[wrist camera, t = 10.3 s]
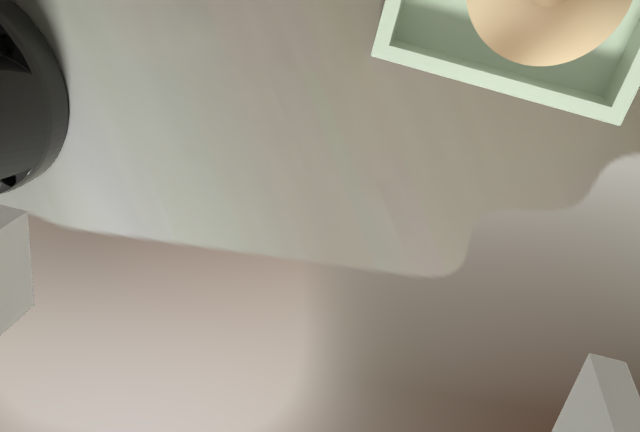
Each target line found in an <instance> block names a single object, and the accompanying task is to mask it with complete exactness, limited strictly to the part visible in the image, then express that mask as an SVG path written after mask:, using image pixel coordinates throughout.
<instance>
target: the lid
mask: <svg viewBox="0 0 640 432" xmlns="http://www.w3.org/2000/svg"><path fill="white" fill-rule="evenodd" d="M632 1H633V0H466V2H467V8H468V12H469V15H470V19H471V21H472V24H473V26H474V28H475V30H476V31H477V33H478V34H479V36H480V37H481V39H482V40H483V41H484V42H485V43H486V44H487V46H489V47H490V48H491V49H492V50H493V51H494V52H496V53H497V54H499V55H501V56H502V57H504V58H506V59H508V60H510V61H513V62H516V63H519V64H523V65H529V66H552V65H558V64H562V63H566V62H569V61H572V60H575V59H577V58H579V57H581V56H583V55H585V54H587V53H589V52H590V51H592V50H593V49H595V48H596V47H598V46H599V45H600V44H601V43H603V42H604V41H605V40H606V39H607V38H608V37H609V36H610V35H611V34H612V33H613V32H614V31H615V29H616V28H617V27H618V26H619V24H620V23H621V22H622V20H623V18H624V17H625V15H626V14H627V12H628V10H629V8H630V6H631V3H632Z"/></svg>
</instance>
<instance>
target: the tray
mask: <svg viewBox="0 0 640 432" xmlns="http://www.w3.org/2000/svg"><path fill="white" fill-rule="evenodd" d="M371 56H373V57H376V58H380V59H383V60H387V61H391V62H394V63H398V64H401V65H405V66H408V67H412V68H415V69H419V70H423V71H426V72H430V73H433V74H437V75H440V76H444V77H447V78H451V79H455V80H458V81H462V82H465V83H469V84H472V85H476V86H479V87H483V88H487V89H490V90H494V91H497V92H501V93H504V94H508V95H511V96H515V97H519V98H522V99H526V100H529V101H533V102H536V103H540V104H543V105H547V106H550V107H554V108H558V109H561V110H565V111H568V112H572V113H575V114H579V115H582V116H586V117H590V118H593V119H597V120H600V121H604V122H607V123H611V124H614V125H618V126H620V125H621V123H622V121H623V119H624V117H625V115H626V113H627V111H628V109H629V107H630V105H631V103H632V101H633V99H634V97H635V94H636V92H637V90H638V88H639V86H640V0H633V1H632V3H631V6H630V8H629V10H628V12H627V14H626V15H625V17H624V18H623V20H622V22H621V23H620V24H619V26H618V27H617V28H616V29H615V31H614V32H613V33H612V34H611V35H610V36H609V37H608V38H607V39H606V40H605V41H604V42H603V43H601V44H600V45H599V46H598V47H596V48H595V49H593V50H592V51H590V52H589V53H587V54H585V55H583V56H581V57H579V58H577V59H575V60H572V61H569V62H566V63H562V64H558V65H552V66H529V65H523V64H519V63H516V62H513V61H510V60H508V59H506V58H504V57H502V56H501V55H499V54H497V53H496V52H494V51H493V50H492V49H491V48H490V47H489V46H487V44H486V43H485V42H484V41H483V40H482V39H481V37H480V36H479V34H478V33H477V31H476V30H475V28H474V26H473V24H472V21H471V19H470V15H469V12H468V8H467V2H466V0H385V4H384V8H383V11H382V15H381V19H380V23H379V27H378V30H377V34H376V38H375V42H374V46H373V49H372V53H371Z"/></svg>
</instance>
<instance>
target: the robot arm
mask: <svg viewBox="0 0 640 432" xmlns="http://www.w3.org/2000/svg"><path fill="white" fill-rule="evenodd" d="M67 125H68V101H67V94H66V89H65V85H64V81H63V77H62V74H61V71H60V68H59V66H58V64H57V61H56V59H55V57H54V55H53V53H52V51H51V49H50V47H49V45H48V43H47V42H46V40H45V39H44V37H43V35H42V34H41V33H40V31H39V30H38V28H37V27H36V26H35V24H34V23H33V22H32V21H31V20H30V18H29V17H28V16H27V15H26V14H25V13H24V12H23V11H22V10H21V9H20V8H19V7H18V6H17V5H16V4H15V3H14V2H12V1H11V0H0V194H2V193H6V192H9V191H11V190H14V189H16V188H18V187H20V186H22V185H24V184H25V183H27V182H29V181H31V180H33V179H34V178H36V177H38V176H39V175H41V174H42V173H43V172H45V171H46V170H47V169H48V168H49V167H50V166H51V165H52V163H53V162H54V161H55V159H56V158H57V156H58V154H59V152H60V151H61V148H62V146H63V143H64V140H65V136H66V132H67ZM33 306H34V293H33V279H32V265H31V252H30V239H29V225H28V211H24V210H20V209H16V208H12V207H8V206H4V205H0V336H1V335H2V334H3V333H4V332H5V331H6V330H7V329H8V328H9V327H11V326H12V325H13V324H14V323H15V322H16V321H17V320H18V319H19V318H21V317H22V316H23V315H24V314H25V313H26V312H27V311H28V310H30V309H31V308H32V307H33ZM552 432H640V397H639V394H638V392H637V389H636V387H635V384H634V382H633V379H632V377H631V374H630V372H629V369H628V367H627V364H626V362H623V361H619V360H615V359H611V358H607V357H602V356H599V355H595V354H591V353H589V355H588V357H587V359H586V361H585V363H584V365H583V367H582V369H581V371H580V374H579V376H578V378H577V380H576V382H575V384H574V386H573V388H572V390H571V392H570V394H569V397H568V399H567V401H566V403H565V405H564V407H563V409H562V411H561V413H560V415H559V417H558V419H557V422H556V424H555V426H554V428H553V430H552Z"/></svg>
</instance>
